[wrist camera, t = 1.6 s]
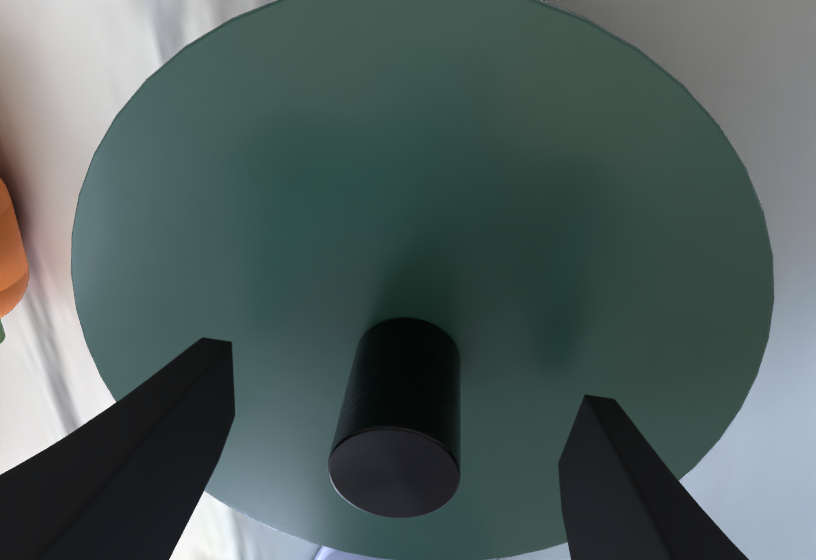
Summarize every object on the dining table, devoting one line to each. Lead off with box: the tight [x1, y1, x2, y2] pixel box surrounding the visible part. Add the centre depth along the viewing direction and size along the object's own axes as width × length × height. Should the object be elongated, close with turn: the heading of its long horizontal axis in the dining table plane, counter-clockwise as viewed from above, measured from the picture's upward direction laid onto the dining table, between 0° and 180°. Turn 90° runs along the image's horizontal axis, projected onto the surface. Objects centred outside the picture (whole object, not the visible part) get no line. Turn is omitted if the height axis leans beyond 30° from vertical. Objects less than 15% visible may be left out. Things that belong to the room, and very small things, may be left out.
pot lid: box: [71, 0, 774, 560], centre depth 12 cm, size 15×15×4 cm
